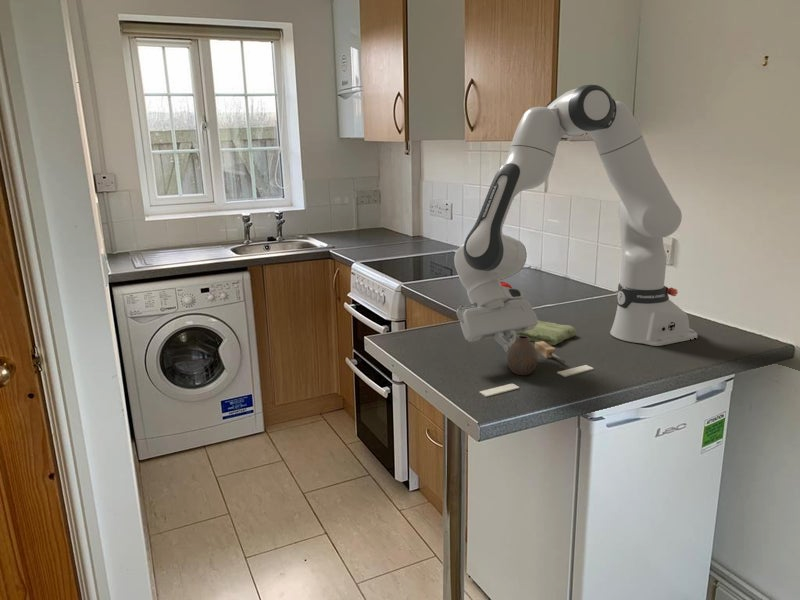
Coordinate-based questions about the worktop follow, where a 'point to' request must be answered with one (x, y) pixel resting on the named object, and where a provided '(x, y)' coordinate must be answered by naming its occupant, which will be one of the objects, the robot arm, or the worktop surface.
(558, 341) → the washcloth
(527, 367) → the vase
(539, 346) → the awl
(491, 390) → the beige flat strips
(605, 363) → the worktop surface
